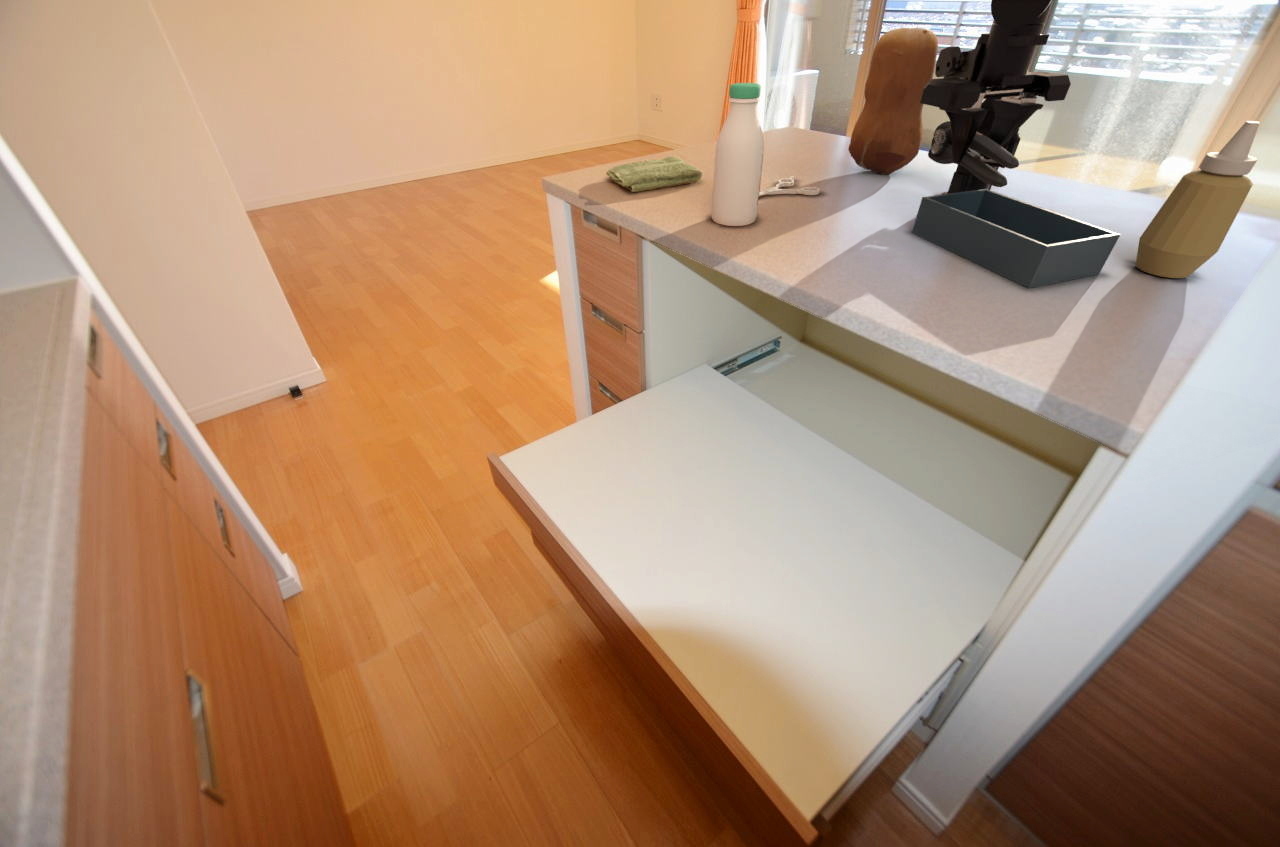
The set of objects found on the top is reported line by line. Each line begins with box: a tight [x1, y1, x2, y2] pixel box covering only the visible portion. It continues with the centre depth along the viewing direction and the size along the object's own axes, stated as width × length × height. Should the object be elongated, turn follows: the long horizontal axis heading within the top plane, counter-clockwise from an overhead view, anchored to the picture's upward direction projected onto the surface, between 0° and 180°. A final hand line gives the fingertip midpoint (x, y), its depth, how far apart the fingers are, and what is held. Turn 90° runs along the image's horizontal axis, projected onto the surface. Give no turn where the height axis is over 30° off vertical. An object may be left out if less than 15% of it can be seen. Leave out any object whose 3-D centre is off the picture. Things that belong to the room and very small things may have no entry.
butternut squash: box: [847, 27, 939, 175], centre depth 107 cm, size 14×13×25 cm
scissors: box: [759, 175, 821, 197], centre depth 104 cm, size 11×1×20 cm
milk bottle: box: [710, 82, 765, 227], centre depth 87 cm, size 8×8×20 cm
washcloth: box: [606, 155, 703, 193], centre depth 112 cm, size 13×18×3 cm
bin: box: [911, 189, 1121, 289], centre depth 78 cm, size 12×22×6 cm, turn 18°
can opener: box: [927, 120, 1020, 188], centre depth 75 cm, size 18×7×6 cm, turn 4°
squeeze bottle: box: [1135, 120, 1261, 279], centre depth 68 cm, size 8×8×18 cm
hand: (971, 160), depth 76 cm, fingers closed on can opener, 5 cm apart
